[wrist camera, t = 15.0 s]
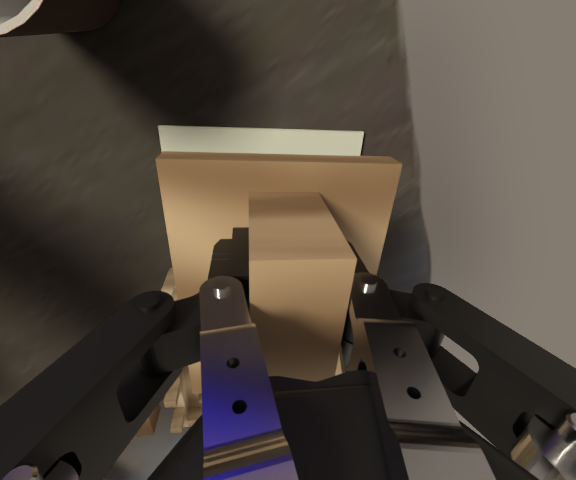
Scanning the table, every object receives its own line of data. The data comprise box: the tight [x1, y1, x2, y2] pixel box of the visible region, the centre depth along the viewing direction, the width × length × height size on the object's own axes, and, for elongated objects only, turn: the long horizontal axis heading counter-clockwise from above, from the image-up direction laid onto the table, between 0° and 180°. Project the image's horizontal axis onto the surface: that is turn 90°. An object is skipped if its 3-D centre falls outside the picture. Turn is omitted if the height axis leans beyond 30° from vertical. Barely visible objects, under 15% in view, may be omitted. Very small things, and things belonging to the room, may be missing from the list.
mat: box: [158, 125, 364, 156], centre depth 27 cm, size 11×16×1 cm
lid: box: [156, 151, 402, 394], centre depth 13 cm, size 13×9×6 cm
